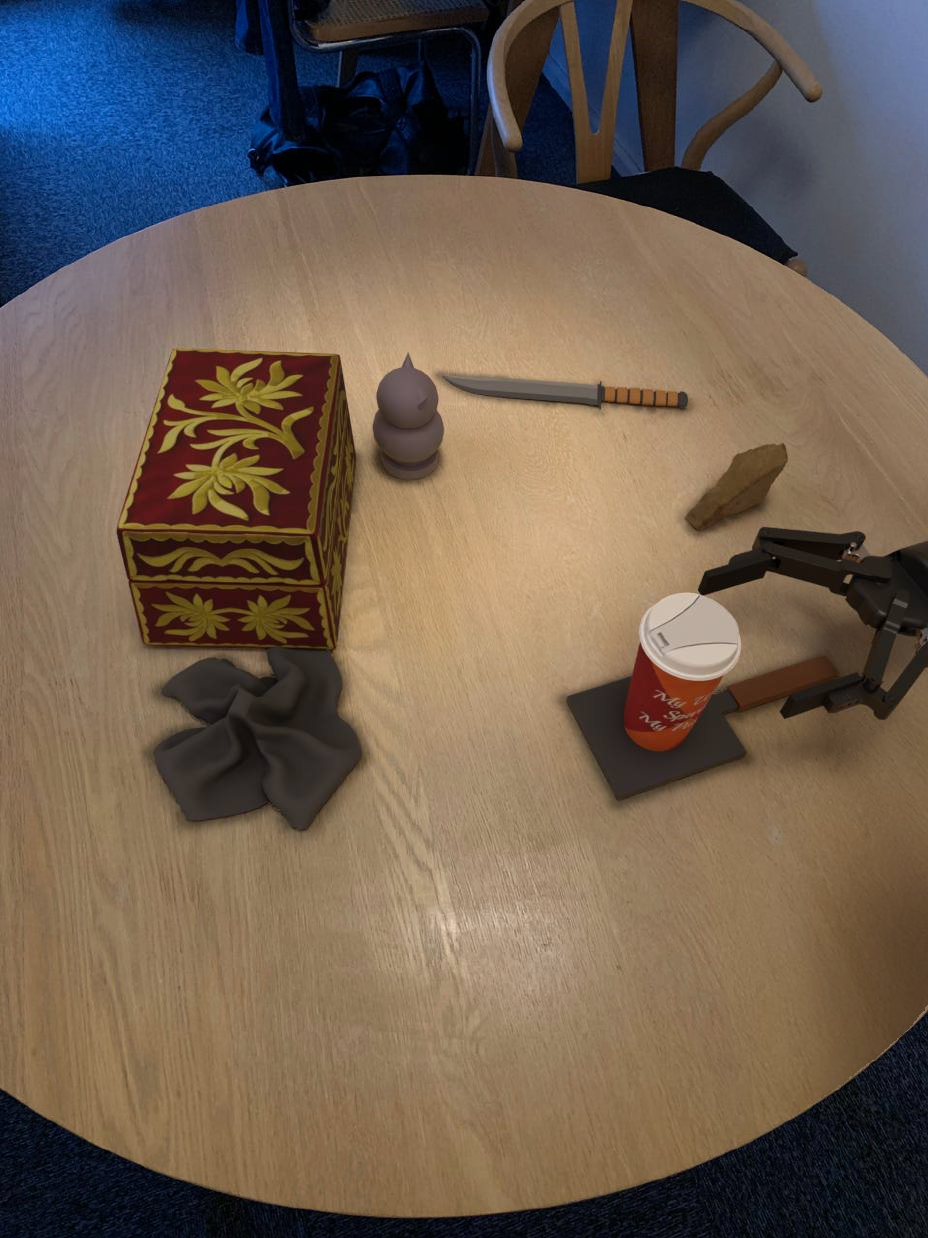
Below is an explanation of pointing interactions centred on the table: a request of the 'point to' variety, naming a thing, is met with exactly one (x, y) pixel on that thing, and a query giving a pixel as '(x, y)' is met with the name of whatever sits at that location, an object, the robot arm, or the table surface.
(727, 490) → the rock
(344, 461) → the decorative box
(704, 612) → the coffee cup
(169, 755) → the cloth
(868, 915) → the table surface
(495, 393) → the knife
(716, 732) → the spatula
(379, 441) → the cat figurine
